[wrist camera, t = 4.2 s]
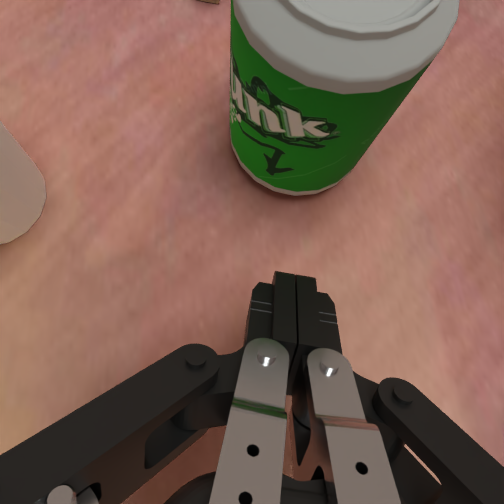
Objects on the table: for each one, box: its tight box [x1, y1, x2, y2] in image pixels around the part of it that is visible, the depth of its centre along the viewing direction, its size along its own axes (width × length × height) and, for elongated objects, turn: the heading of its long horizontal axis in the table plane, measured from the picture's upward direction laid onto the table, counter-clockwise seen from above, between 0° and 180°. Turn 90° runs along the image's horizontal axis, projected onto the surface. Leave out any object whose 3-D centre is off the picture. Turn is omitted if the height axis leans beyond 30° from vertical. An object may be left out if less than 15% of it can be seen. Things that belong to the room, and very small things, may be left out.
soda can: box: [230, 0, 459, 196], centre depth 18 cm, size 8×8×12 cm
